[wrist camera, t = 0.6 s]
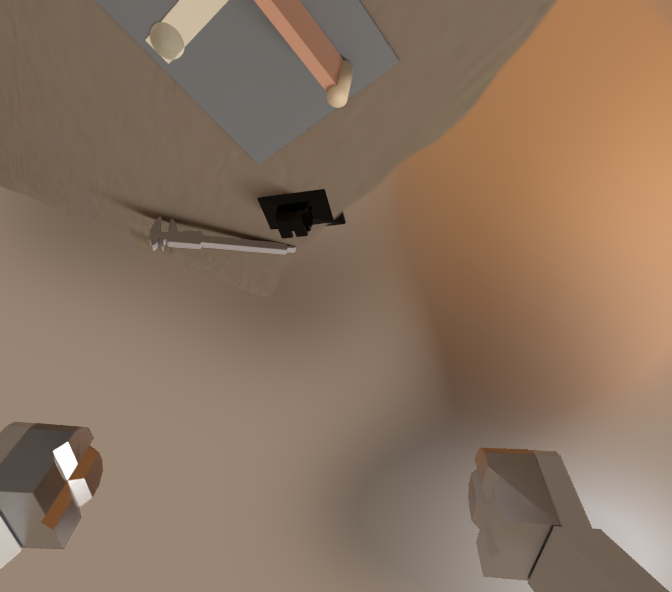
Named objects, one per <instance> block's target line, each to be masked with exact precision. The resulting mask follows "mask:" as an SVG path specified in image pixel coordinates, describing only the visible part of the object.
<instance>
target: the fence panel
mask: <svg viewBox="0 0 672 592" xmlns="http://www.w3.org/2000/svg"><path fill="white" fill-rule="evenodd" d="M254 1H255V2H256V4H257V5H258V6H259V7H260V9H261V10H262V11H263V12H264V14H265V15H266V16H267V17H268V19H269V20H270V21H271V22H272V24H273V25H274V26H275V28H276V29H277V30H278V31H279V33H280V34H281V35H282V36H283V38H284V39H285V40H286V41H287V43H288V44H289V45H290V46H291V48H292V49H293V50H294V52H295V53H296V54H297V55H298V57H299V58H300V59H301V60H302V62H303V63H304V64H305V65H306V67H307V68H308V69H309V70H310V72H311V73H312V74H313V76H314V77H315V78H316V79H317V81H318V82H319V83H320V84H321V86H322V87H323V88H324V89H325V91H326V92H327V101H328V103H329V104H330V105H331V106H333V107H336V108H339V107H342V106H344V105H345V104H346V102H347V99H348V94H349V89H350V85H351V80H352V75H353V66H352V65H351V63H350V62H348V61H346V60H343V58H342V57H341V56H340V54H339V53H338V52H337V50H336V49H335V47H334V46H333V45H332V43H331V42H330V41H329V39H328V38H327V37H326V35H325V34H324V32H323V31H322V30H321V28H320V27H319V26H318V24H317V23H316V22H315V20H314V19H313V17H312V16H311V15H310V13H309V12H308V11H307V9H306V8H305V7H304V5H303V4H302V2H301V1H300V0H254Z"/></svg>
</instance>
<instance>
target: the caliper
mask: <svg viewBox="0 0 672 592" xmlns="http://www.w3.org/2000/svg"><path fill="white" fill-rule="evenodd" d="M161 226H162V217H158V218H157V219H156V221H155V222H154V224H153V226H152V228H151V230H150V238H149V241H150V244H151V245H153V251H154V250H156V249H157V248H158V246H159V244H160V248H161V250H162V251H164V245H165V244H167V245H168V247H179V248H192V249H201V247H205V248H217V249H228V250H239V251H250V252H261V253H273V254H284V255H286V253H287V252H288V253H294V252H295V251H296V247H295V246H287V244H282V243H278V242H268V241H257V240H245V239H235V238H224V237H214V236H204V235H202V232H201V231H197V232H195V231H191V230H190V231H183V232H179V231H178V230H177V227H176V223H175V220H174V219H171V220H170V223H169V232H161Z"/></svg>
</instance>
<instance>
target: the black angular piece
mask: <svg viewBox="0 0 672 592" xmlns="http://www.w3.org/2000/svg"><path fill="white" fill-rule="evenodd" d="M258 201H259V203H260V206H261V208H262V210H263V212H264V215H265V217H266V219H267V222H268V224H269V226H270V229H278V230H279V232H280V235H281V237H282V239H283V238H292V237H293V233H292V231H295V234H296V237H301V236H307V235H308V231H311V226H312V225H313V224H321V223H329V224H327V225H326V226H332V225H341V224H345V223H346V220H345V216H344V212H343V211H342V212H341V213H340V214H339V215H338V216H337V217H336V218H334V219H333V216H332V213H331V210H330V206H329V203H328V199H327V196H326V192H325V190H324V189H321V190H314V191H306V192H298V193H291V194H283V195H275V196H268V197H260V198H258Z"/></svg>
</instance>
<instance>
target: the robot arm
mask: <svg viewBox="0 0 672 592" xmlns="http://www.w3.org/2000/svg"><path fill="white" fill-rule="evenodd" d="M92 440H93V436H92V434H91V431H90V429H89V428H88V427H77V426H65V425H52V424H40V423H25V422H13V423H12V424H10V425H8V426H6V427H5V428H4V429H3V430H2V431H1V433H0V569H1V568H2V567H3V566H4V565H5V564H7V563H8V562H9V561H10V560H11V559H12V558H14V557H15V556H16V555H17V554H18V553H19V552H21V551H22V549H21V548H46V549H48V548H49V549H64V548H65V546H66V544H67V542H68V541H69V539H70V537H71V535H72V533H73V532H74V530H75V528H76V526H77V525H78V522H79V521H80V519H81V512H80V506H82V505H83V504H84V503H86V502H87V501H89V500H90V499H91V498H93V496H94V494H95V492H96V489H97V488H98V486H99V484H100V480H101V476H102V472H103V467H102V466H103V465H102V458H101V456H100V453H99V452H98V451H97V450H95V449H94V448H93V447H92V446H90V444H91V442H92ZM475 462H476V466H477V470H475V471H474V472H472V473H471V476H470V481H469V494H468V499H469V507H470V514H471V519H472V521H473V522H474V523H475V525H477V527H478V528H479V529H480V531H479V534H478V538H477V541H476V543H477V548H478V553H479V557H480V563H481V567H482V572H483V576H485V577H495V578H506V579H517V580H527V581H528V584H529V585H530V587H531V588H532V589H533V591H534V592H669V591H668V590H667V589H666V588H664V587H663V586H662V585H661V584H660V583H659V582H658V581H657V580H656V579H654V578H653V577H652V576H651V575H650V574H649V573H648V572H647V571H646V570H645V569H644V568H642V567H641V566H640V565H639V564H638V563H637V562H636V561H635V560H634V559H632V558H631V557H630V556H629V555H628V554H627V553H626V552H625V551H624V550H623V549H622V548H620V547H619V546H618V545H617V544H616V543H615V542H614V541H613V540H612V539H611V538H609V537H608V536H607V535H606V534H605V533H604V532H603V531H602V530H601V529H592V527H591V524H590V522H589V520H588V518H587V515H586V513H585V511H584V508H583V507H582V504H581V502H580V499H579V497H578V495H577V492H576V490H575V488H574V485H573V483H572V481H571V479H570V476H569V474H568V472H567V470H566V467H565V465H564V463H563V460H562V458H561V456H560V455H559V454H558V453H557V452H556V451H540V450H539V451H538V450H528V449H506V448H481V447H480V448H479V450H478V451H477V454H476V457H475Z"/></svg>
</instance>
